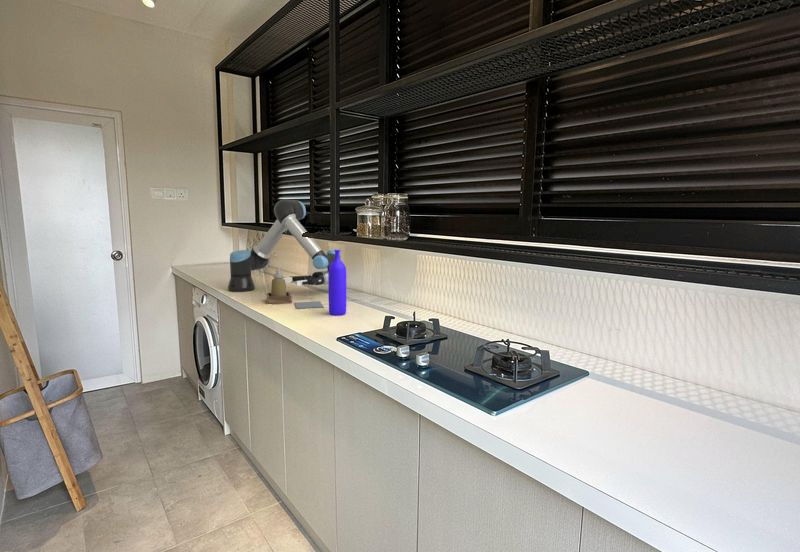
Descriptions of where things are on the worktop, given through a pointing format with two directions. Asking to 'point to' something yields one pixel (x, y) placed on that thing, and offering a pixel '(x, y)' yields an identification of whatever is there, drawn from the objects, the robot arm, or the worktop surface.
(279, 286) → the squeeze bottle
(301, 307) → the mat
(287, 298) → the holder
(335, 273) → the bottle
